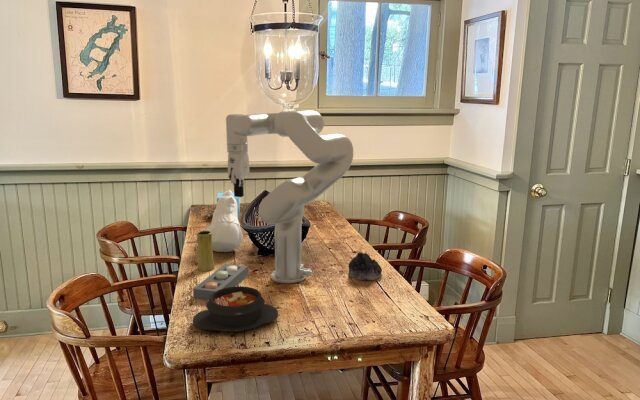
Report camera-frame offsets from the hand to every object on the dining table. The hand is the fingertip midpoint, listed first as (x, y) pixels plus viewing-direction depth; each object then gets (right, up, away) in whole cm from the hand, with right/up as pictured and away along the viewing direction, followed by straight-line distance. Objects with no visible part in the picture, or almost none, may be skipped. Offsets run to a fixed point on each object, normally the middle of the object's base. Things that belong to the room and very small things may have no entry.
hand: (239, 196), depth 191 cm
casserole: (+6, -38, -41) cm, 56 cm away
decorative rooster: (-11, -22, +24) cm, 35 cm away
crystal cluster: (+47, -29, -4) cm, 56 cm away
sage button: (-3, -29, -16) cm, 33 cm away
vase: (-13, -28, +2) cm, 31 cm away
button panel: (-3, -31, -15) cm, 35 cm away
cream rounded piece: (-1, -28, -8) cm, 29 cm away
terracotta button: (-5, -32, -23) cm, 40 cm away
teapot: (-17, -11, +73) cm, 76 cm away
